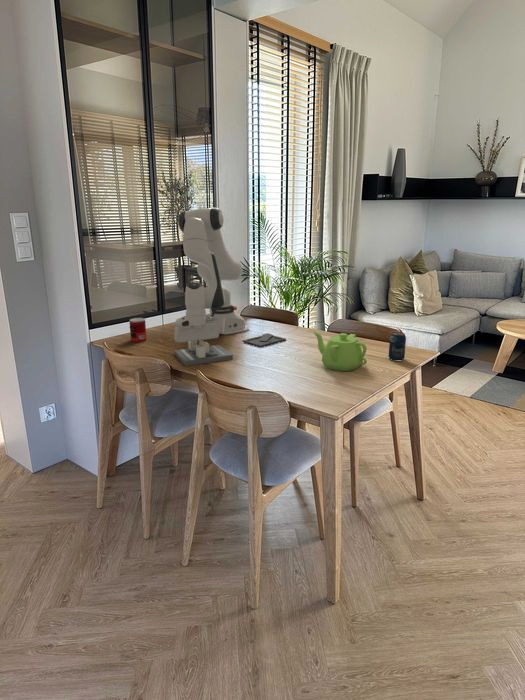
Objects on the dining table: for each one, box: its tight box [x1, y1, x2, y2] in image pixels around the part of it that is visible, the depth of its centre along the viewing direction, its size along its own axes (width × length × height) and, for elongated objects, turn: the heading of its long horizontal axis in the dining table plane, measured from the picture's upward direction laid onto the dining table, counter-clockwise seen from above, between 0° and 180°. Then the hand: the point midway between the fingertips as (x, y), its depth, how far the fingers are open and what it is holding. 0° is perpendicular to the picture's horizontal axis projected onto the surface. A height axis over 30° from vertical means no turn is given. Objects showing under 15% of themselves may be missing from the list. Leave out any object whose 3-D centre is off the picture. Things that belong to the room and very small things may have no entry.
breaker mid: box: [201, 341, 210, 353], centre depth 222 cm, size 3×4×4 cm
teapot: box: [312, 331, 368, 372], centre depth 208 cm, size 19×20×14 cm
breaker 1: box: [187, 341, 198, 351], centre depth 226 cm, size 3×4×4 cm
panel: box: [173, 344, 234, 367], centre depth 223 cm, size 22×18×2 cm
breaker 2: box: [196, 346, 205, 358], centre depth 216 cm, size 3×4×4 cm
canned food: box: [129, 317, 147, 343], centre depth 249 cm, size 8×8×11 cm
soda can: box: [388, 331, 407, 361], centre depth 217 cm, size 7×7×12 cm
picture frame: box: [241, 333, 287, 348], centre depth 247 cm, size 13×2×18 cm
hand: (197, 349), depth 221 cm, fingers closed
